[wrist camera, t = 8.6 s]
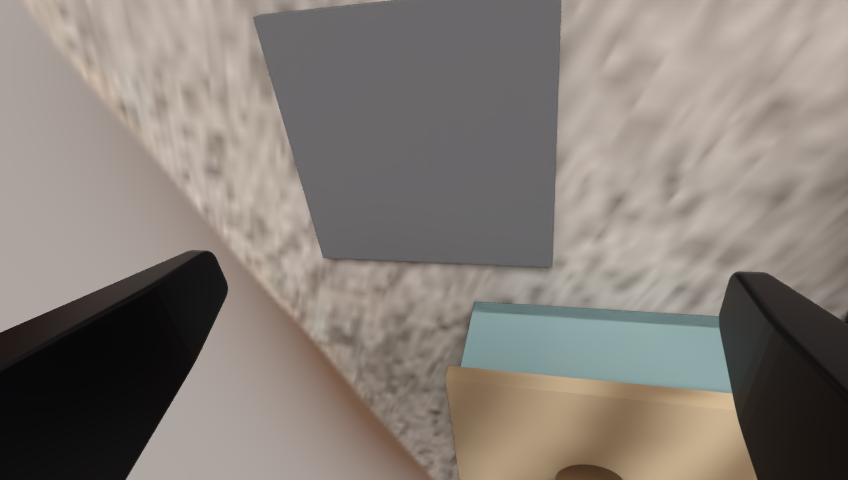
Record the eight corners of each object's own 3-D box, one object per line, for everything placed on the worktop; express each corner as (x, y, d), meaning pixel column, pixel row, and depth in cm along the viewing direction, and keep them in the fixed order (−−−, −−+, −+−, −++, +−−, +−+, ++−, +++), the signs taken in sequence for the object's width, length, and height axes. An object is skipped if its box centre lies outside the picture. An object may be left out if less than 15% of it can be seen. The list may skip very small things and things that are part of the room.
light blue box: (724, 317, 23) (759, 404, 19) (680, 461, 29) (699, 549, 25) (474, 301, 26) (459, 373, 22) (485, 435, 32) (475, 509, 28)
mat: (561, -19, 16) (561, -17, 16) (552, 259, 23) (552, 267, 22) (260, 14, 20) (252, 17, 19) (327, 251, 26) (323, 257, 26)
